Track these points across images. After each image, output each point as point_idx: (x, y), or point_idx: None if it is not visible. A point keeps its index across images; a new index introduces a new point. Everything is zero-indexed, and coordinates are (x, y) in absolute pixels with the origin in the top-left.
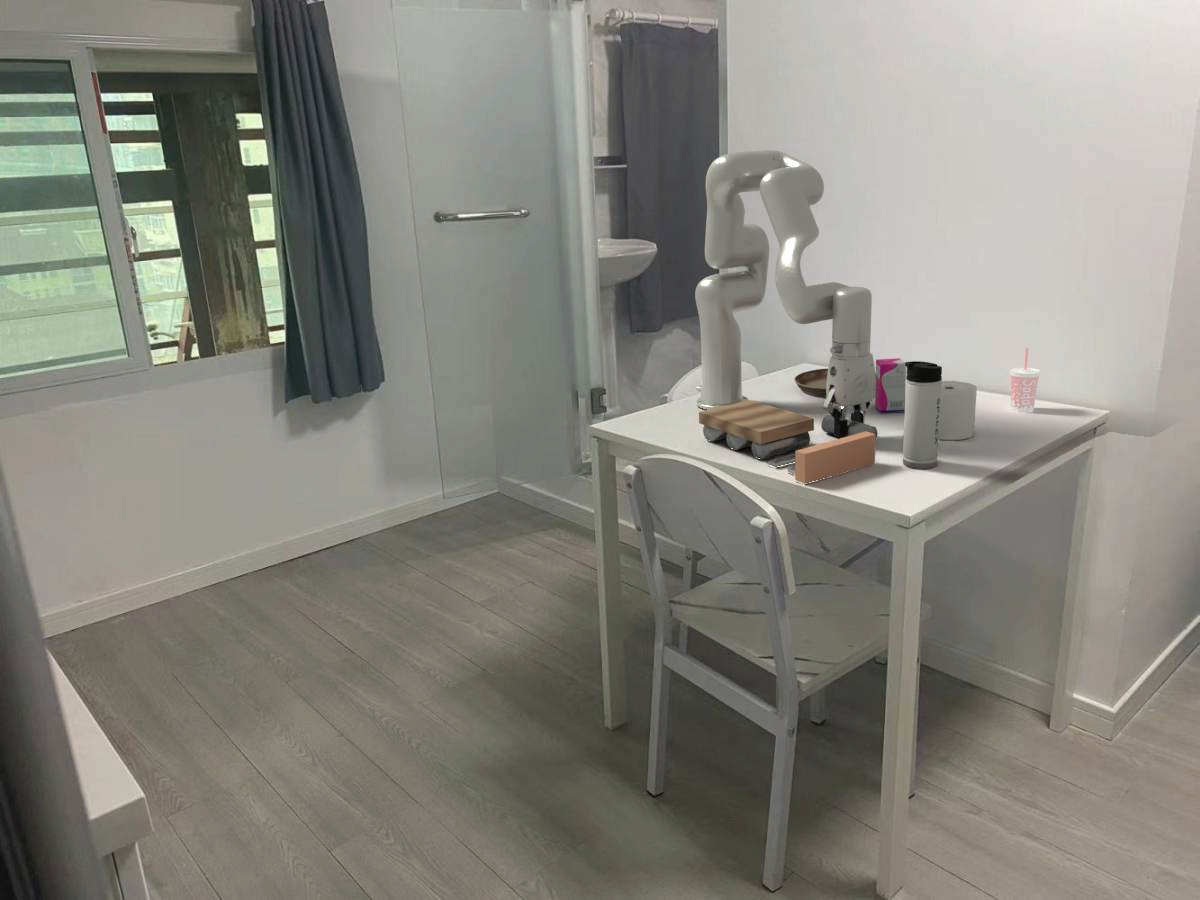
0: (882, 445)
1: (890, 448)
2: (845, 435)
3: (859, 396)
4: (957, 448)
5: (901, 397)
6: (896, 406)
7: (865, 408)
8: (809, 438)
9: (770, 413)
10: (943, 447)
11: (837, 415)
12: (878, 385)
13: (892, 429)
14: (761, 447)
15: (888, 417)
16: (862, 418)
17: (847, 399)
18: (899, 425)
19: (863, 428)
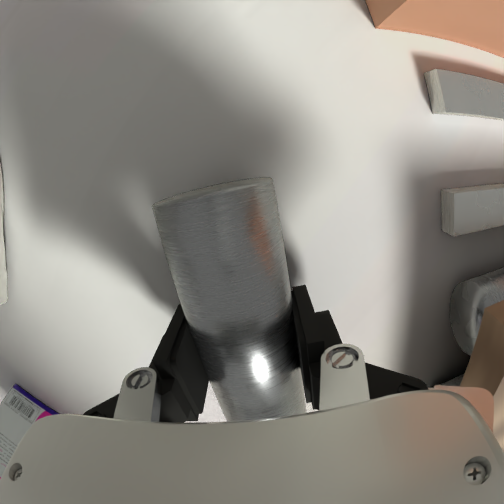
0: (169, 155)
1: (165, 99)
2: (305, 290)
3: (203, 494)
4: (11, 43)
5: (5, 411)
6: (22, 403)
7: (124, 396)
8: (481, 287)
9: (502, 428)
10: (25, 58)
11: (385, 375)
12: None
13: (53, 312)
14: None
15: (46, 386)
16: (168, 350)
17: (430, 453)
18: (31, 327)
19: (251, 218)
